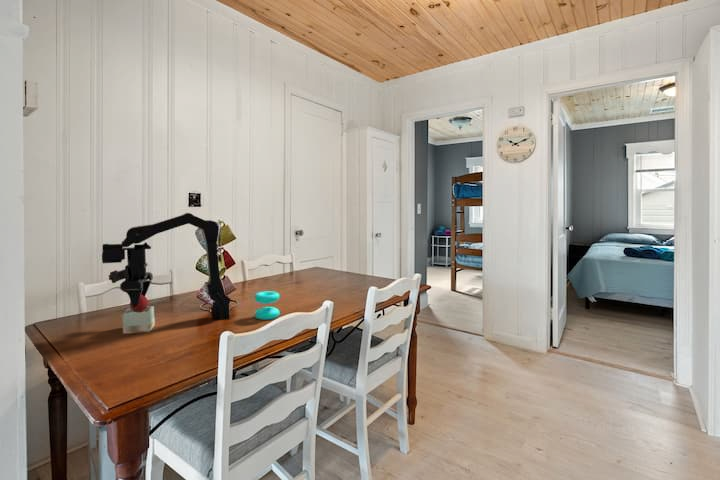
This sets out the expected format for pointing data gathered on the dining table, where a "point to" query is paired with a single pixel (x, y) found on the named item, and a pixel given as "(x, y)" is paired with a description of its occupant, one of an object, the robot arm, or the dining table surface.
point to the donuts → (267, 312)
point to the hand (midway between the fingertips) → (138, 303)
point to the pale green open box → (138, 317)
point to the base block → (139, 328)
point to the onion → (140, 304)
